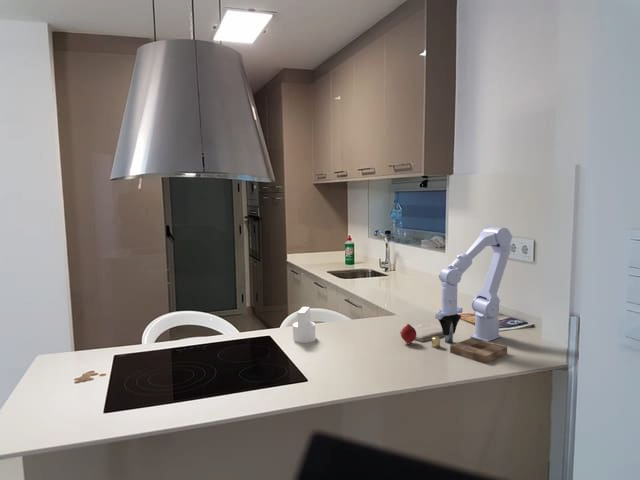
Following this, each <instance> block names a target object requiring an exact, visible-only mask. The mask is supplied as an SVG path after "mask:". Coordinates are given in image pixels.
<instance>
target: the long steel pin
mask: <svg viewBox="0 0 640 480" xmlns="http://www.w3.org/2000/svg"><path fill="white" fill-rule="evenodd" d="M444 343H446V344H454V334H453V322H451V325H450V333H449V335H448V336H447V335H445V336H444Z"/></svg>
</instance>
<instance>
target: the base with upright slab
mask: <svg viewBox="0 0 640 480" xmlns="http://www.w3.org/2000/svg"><path fill="white" fill-rule="evenodd" d="M296 315H297V321H295V322H293V323H292V341H294V342H296V343H300V344H302V343H303V344H304V343H311V342H313V341H315V340H316V323H315V322H314V321H311V309H310V306H302V307H301V308H300V309H299V310H298V311H297V313H296Z"/></svg>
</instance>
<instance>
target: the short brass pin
mask: <svg viewBox="0 0 640 480" xmlns="http://www.w3.org/2000/svg"><path fill="white" fill-rule="evenodd" d="M431 347H432V348H433V349H440V348H441V336H440V337H432V339H431Z"/></svg>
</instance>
